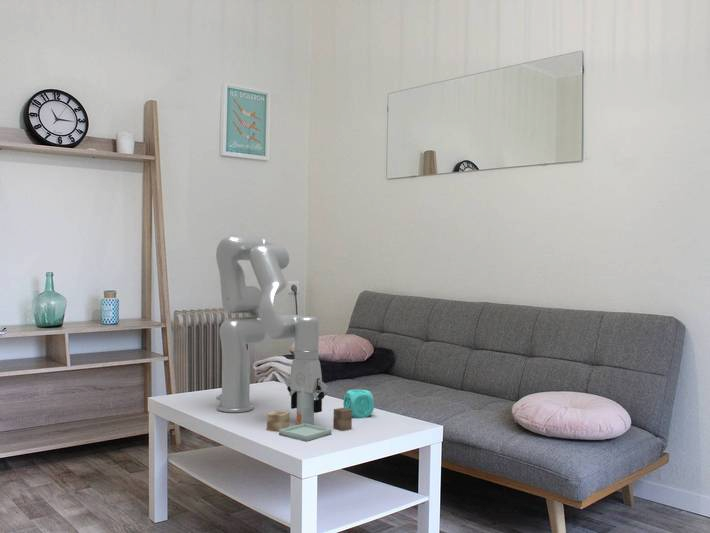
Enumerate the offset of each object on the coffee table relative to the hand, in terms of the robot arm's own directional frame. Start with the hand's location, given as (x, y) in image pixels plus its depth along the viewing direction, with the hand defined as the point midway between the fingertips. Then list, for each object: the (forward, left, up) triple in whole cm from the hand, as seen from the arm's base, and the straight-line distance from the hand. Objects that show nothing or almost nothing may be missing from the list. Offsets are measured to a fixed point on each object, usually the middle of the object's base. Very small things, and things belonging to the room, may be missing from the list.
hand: (306, 410), depth 212 cm
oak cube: (-2, -10, -5) cm, 11 cm away
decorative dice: (+4, +22, -5) cm, 23 cm away
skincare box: (0, 0, -5) cm, 5 cm away
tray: (+8, -9, -5) cm, 13 cm away
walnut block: (+12, +4, -5) cm, 13 cm away
